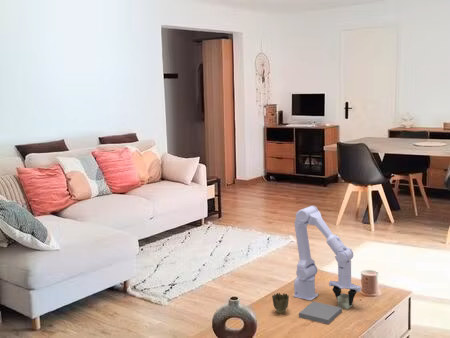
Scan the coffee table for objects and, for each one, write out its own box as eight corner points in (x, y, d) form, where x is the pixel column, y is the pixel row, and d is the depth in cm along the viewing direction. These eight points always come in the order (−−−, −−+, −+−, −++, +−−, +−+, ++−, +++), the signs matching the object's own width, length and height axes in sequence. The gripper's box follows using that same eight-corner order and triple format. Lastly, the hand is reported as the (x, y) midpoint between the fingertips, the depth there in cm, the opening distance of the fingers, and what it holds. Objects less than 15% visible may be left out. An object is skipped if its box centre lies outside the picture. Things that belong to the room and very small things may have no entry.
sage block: (337, 307, 236) (337, 296, 236) (342, 303, 240) (341, 293, 240) (348, 309, 233) (347, 299, 233) (352, 305, 237) (352, 295, 237)
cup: (290, 310, 236) (290, 293, 235) (287, 317, 229) (286, 299, 228) (274, 308, 239) (274, 292, 237) (271, 315, 232) (270, 298, 230)
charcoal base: (298, 317, 229) (298, 312, 228) (313, 305, 240) (313, 301, 239) (328, 324, 220) (328, 319, 220) (341, 312, 232) (341, 307, 231)
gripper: (326, 275, 236) (326, 303, 238) (356, 280, 227) (356, 310, 229) (332, 270, 241) (332, 297, 243) (362, 275, 233) (362, 304, 235)
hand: (344, 303), depth 237 cm, fingers closed on sage block, 5 cm apart
